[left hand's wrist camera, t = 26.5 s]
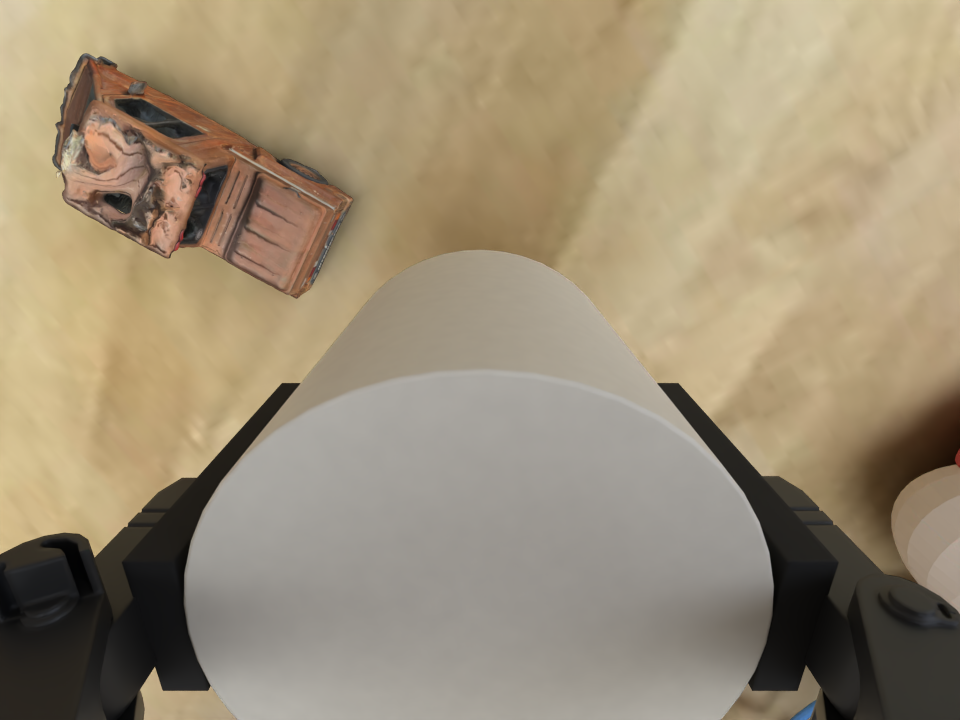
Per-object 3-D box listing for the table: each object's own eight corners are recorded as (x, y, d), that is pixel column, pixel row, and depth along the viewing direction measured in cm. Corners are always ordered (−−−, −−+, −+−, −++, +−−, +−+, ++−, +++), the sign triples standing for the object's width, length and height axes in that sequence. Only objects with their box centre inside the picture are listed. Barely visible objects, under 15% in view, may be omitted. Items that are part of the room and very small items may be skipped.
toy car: (329, 291, 26) (280, 332, 20) (87, 196, 24) (-55, 206, 18) (368, 168, 24) (329, 168, 17) (107, 55, 22) (-45, 8, 16)
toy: (692, 810, 29) (1311, 432, 16) (638, 637, 38) (1013, 308, 25) (905, 862, 34) (1505, 600, 21) (812, 698, 42) (1198, 447, 30)
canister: (619, 492, 18) (749, 799, 9) (368, 514, 18) (268, 831, 10) (617, 233, 15) (813, 334, 6) (312, 266, 15) (86, 406, 6)
